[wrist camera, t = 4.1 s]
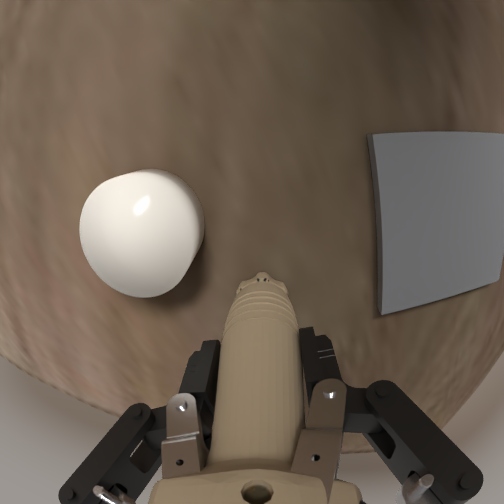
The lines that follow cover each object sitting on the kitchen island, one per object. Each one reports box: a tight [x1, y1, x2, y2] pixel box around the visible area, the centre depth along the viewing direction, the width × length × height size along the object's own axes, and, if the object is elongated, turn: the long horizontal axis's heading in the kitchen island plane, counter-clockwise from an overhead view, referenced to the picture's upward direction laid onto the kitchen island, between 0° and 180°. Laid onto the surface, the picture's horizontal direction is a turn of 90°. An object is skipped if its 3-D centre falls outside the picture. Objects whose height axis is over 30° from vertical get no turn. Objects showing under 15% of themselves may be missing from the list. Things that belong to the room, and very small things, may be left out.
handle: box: [148, 272, 363, 504], centre depth 12 cm, size 5×6×15 cm
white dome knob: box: [80, 169, 205, 298], centre depth 16 cm, size 7×7×4 cm
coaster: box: [367, 131, 504, 315], centre depth 16 cm, size 12×12×1 cm
